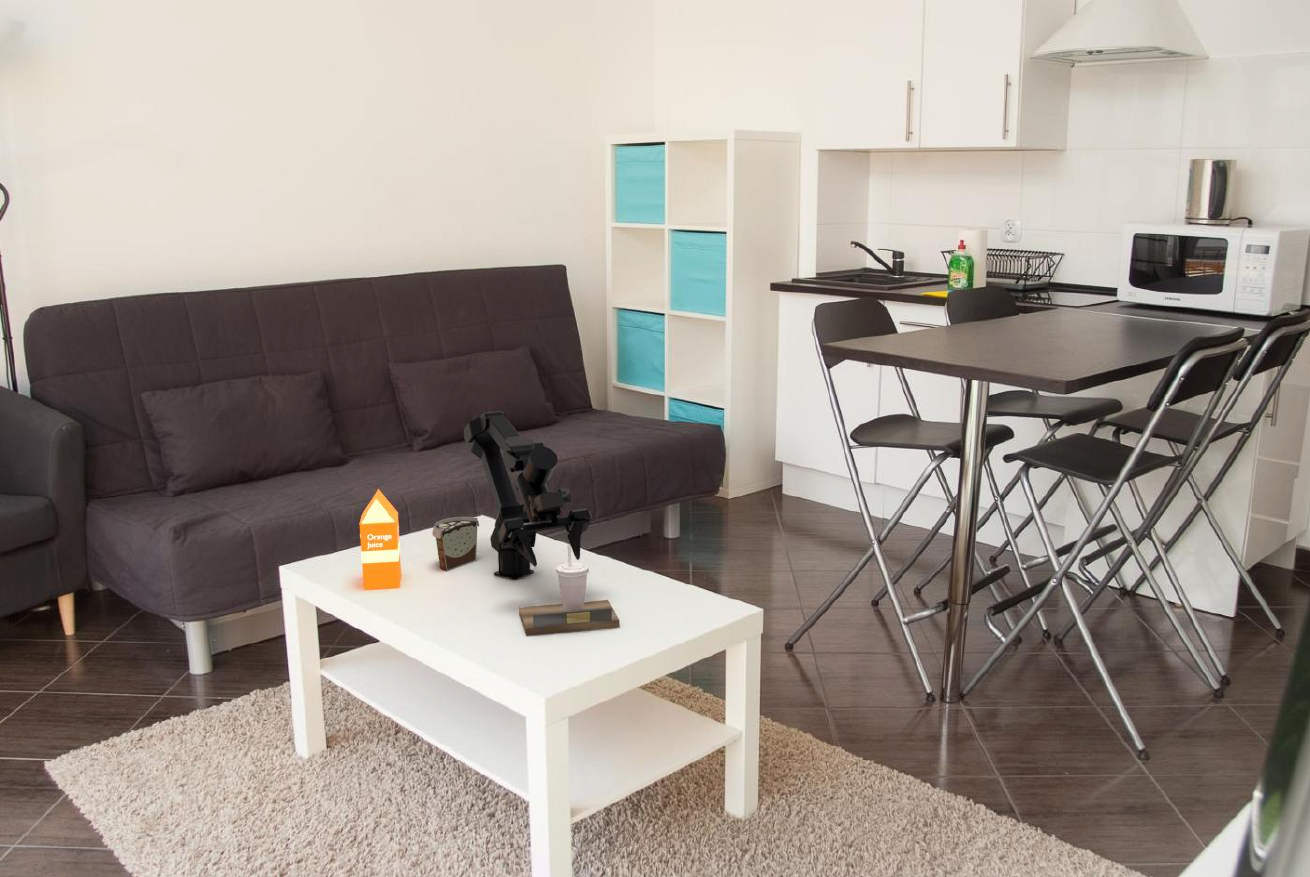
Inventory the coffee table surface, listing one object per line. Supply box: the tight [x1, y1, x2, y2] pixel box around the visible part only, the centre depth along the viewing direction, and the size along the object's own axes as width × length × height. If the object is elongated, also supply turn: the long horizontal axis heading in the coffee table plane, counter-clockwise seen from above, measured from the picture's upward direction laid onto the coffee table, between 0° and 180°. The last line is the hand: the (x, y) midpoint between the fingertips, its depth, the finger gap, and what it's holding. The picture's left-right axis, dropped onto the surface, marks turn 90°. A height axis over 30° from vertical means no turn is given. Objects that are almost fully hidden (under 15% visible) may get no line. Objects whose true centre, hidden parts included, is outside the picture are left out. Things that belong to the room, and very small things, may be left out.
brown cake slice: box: [431, 516, 480, 572], centre depth 265 cm, size 12×6×10 cm, turn 144°
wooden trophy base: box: [518, 599, 620, 637], centre depth 228 cm, size 12×18×4 cm
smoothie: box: [555, 544, 590, 611], centre depth 226 cm, size 6×6×14 cm
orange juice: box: [359, 488, 402, 591], centre depth 251 cm, size 8×9×20 cm
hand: (557, 562), depth 233 cm, fingers open, 9 cm apart
